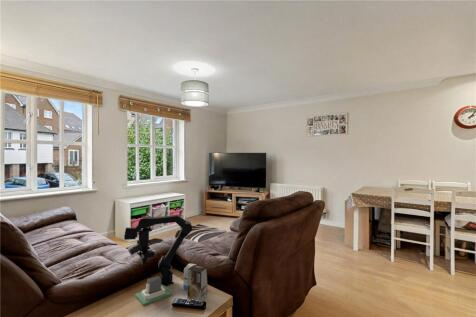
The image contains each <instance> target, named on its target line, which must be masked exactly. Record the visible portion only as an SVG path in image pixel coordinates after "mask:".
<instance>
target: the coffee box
mask: <svg viewBox="0 0 476 317" xmlns="http://www.w3.org/2000/svg"><path fill="white" fill-rule="evenodd" d="M186 291H187V296H186V298H187V300H190V299H193V300H198V301H203V302H204V301H205V300H206V299H207V298H208V267H206V266H202V265H197V264H196V265H193V266H191V267H190V268H189V269H188V290H186ZM193 300H192V301H193Z"/></svg>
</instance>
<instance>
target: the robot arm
mask: <svg viewBox="0 0 476 317" xmlns="http://www.w3.org/2000/svg"><path fill="white" fill-rule="evenodd" d="M170 223H176V225H177V226H179V227H180V230H179V233H178V235H177V237H176V238H175V240H174V242H173V243H172V245H171V246H170V248H169V250H168V251H167V253H166V255H161V258H160V259H159V260H158V264H157V265H158V268H157V271H158V272H159V273H160V276H159V277H160V278H161V285H164V286H165V287H167V286H170V285H173V284H174V281H173V279H174V278H173V274H174V272H173V266H172V265H171V263H172V259H173V258H174V256H175V255H176V253H177V251H178V249H179V248H180V246H181V245H182V243H183V241H184V239H185V238H186V237H187V236H189V235H190V234H191V232H192V231H193V225H192V222H191V221H189V220H186V219H185V218H183V217H181V216H180V215H179V214H174V215H164V216H157V217H156V216H147V215H145V216H142V217H141V218H140V219H139V220H138V224H137V225H136V226H135V227H128V226H127V227H125V231H124V237H123V238H124V240H125V241H126V240H127V241H128V240H129V241H130V240H136V239H137V238H138V240H136V243H134V244H132V245H130V246H129V247H127V251H128V253H129V254H130V255H131V256H134V255H135V254H137V255H138V256H139V259H140V262H141V265H142V266H145V264H147V263H146V262H147V261H148V259H151V258H154V257H155V256H156V253H155V252H154V251H153V250H152V249H151V247H150V243H151V240H150V232H152V231H154V230H153V228H152V226H156V225H163V224H164V225H165V224H170Z"/></svg>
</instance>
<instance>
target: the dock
mask: <svg viewBox="0 0 476 317" xmlns="http://www.w3.org/2000/svg"><path fill="white" fill-rule="evenodd" d="M171 296H173V292H172V291H171V290H170V289H169V288H168V287H167V286H164V285H161V290H160V291H158V292H155V293H152V294H146V288H145V289H142V290H141V291H140V292H137V293H135V294H134V297H136V299H137V300H138V302H139V303H140V304H141V305H142V306H143V307H145V306H147V305H149V304H152V303H155V302H158V301H160V300H163V299H165V298H168V297H171Z"/></svg>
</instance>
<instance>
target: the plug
mask: <svg viewBox="0 0 476 317" xmlns="http://www.w3.org/2000/svg"><path fill="white" fill-rule="evenodd" d="M145 289H146V294H152V293H155V292H158V291H160V290H161V278H160V276H159V275H157V276H154V277H150V278H147V281H146V284H145Z"/></svg>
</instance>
